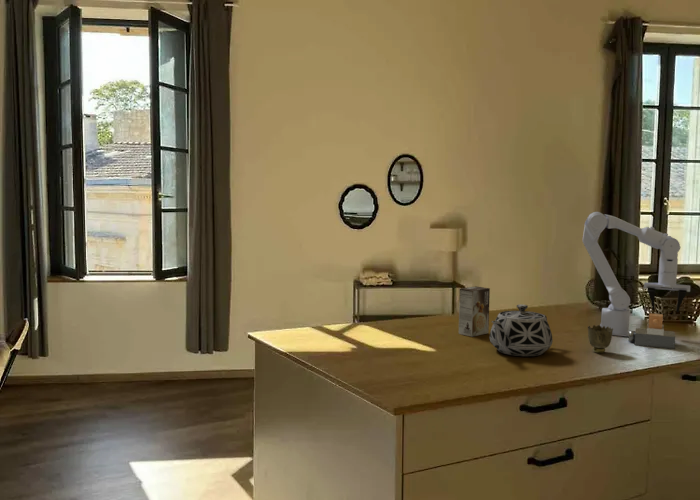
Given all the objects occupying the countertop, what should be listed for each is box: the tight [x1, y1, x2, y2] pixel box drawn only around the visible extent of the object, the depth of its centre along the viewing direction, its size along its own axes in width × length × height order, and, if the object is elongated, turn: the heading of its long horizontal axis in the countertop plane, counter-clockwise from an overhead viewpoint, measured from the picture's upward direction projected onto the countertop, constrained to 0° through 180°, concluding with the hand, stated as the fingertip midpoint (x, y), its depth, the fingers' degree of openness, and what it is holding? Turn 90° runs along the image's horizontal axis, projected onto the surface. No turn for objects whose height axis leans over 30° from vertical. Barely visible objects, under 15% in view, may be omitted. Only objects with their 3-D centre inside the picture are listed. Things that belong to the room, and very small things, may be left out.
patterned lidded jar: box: [489, 303, 553, 357], centre depth 220 cm, size 19×31×15 cm, turn 135°
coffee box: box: [458, 285, 491, 338], centre depth 246 cm, size 9×6×16 cm
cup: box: [587, 324, 613, 354], centre depth 222 cm, size 8×7×8 cm
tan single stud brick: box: [648, 312, 664, 329], centre depth 233 cm, size 4×6×6 cm
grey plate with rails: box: [628, 323, 676, 350], centre depth 235 cm, size 14×9×6 cm, turn 67°
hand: (665, 310), depth 245 cm, fingers open, 7 cm apart
